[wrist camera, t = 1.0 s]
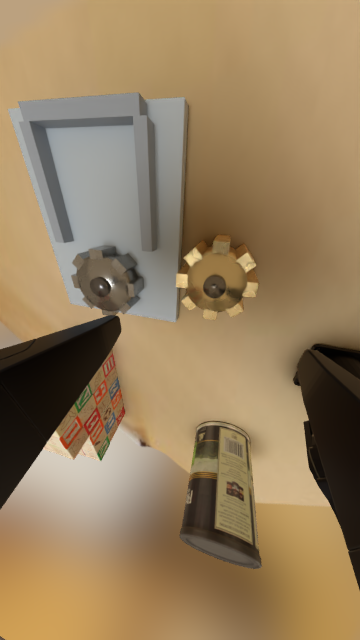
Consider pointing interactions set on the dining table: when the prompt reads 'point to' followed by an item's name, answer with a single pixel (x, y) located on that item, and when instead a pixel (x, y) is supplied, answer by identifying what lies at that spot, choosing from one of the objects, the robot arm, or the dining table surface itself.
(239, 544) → the coffee can
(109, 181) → the gear board
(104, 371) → the stack of blocks
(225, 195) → the dining table surface
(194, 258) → the brass gear
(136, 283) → the gear
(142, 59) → the dining table surface
